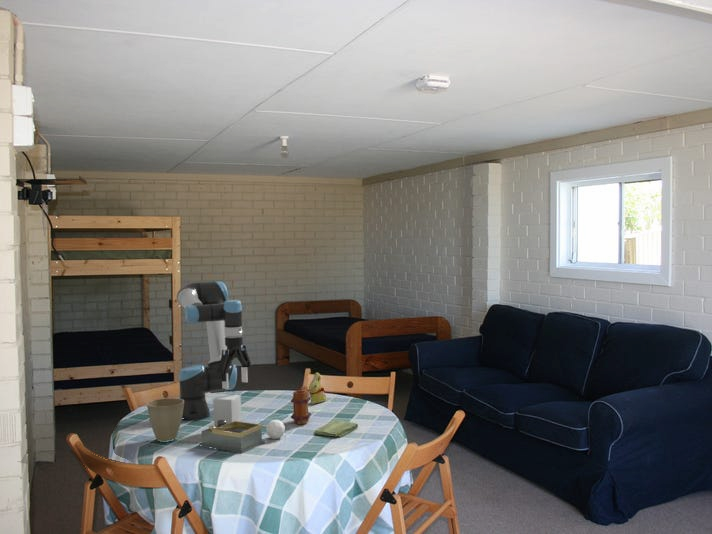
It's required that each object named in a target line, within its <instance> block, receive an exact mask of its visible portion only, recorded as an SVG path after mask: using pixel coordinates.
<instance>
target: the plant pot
mask: <svg viewBox="0 0 712 534" xmlns="http://www.w3.org/2000/svg"><path fill="white" fill-rule="evenodd" d="M146 407H147V408H146V409H147V412H148V418H149V421H150V425H151V428H152V431H153V434H154V437H155V440H156V441H157V440H162V441H167V440H172V439H175V438H176V439H177V436H178V433H179V430H180V428H181V427H180V426H181V424H182V423H181V422H182V420H183V419H182V414H183V407H184V400H182V399H180V398H177V397H176V398H174V397H167V398H158V399H153V400H150V401H148V402H146Z"/></svg>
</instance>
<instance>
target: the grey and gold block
mask: <svg viewBox="0 0 712 534" xmlns="http://www.w3.org/2000/svg"><path fill="white" fill-rule="evenodd" d="M262 429H263V424H260V423H255V422H246V421H242V422H240V421H233V422H230V423H228V424H226V420H219V421H217V425H216V426H214V425H209V426H208V428H206V429H204V430H202V431H201V442H200V443H199V444H198V446H199V445H202V446H206V447H212V448H216V449H215V450H218V449H222V450H221V451H224V450H227V451H226V452H230V451H232V452H231V453H236V452H237V453H236V454H244V453H246V452H248V451H251V450H252V449H255V448H257V447H259V446H262V445H264V444H265V443H266V442H265V441H266V440H264V439H262V438H263V437H262V436H263V435H262V433H263V432H262ZM206 447H205V448H206ZM212 448H211V449H212Z"/></svg>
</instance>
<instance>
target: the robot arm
mask: <svg viewBox="0 0 712 534" xmlns="http://www.w3.org/2000/svg"><path fill="white" fill-rule="evenodd" d="M176 301H177V303H178V304H179V306H181V308H184V317H185V322H187V323H188V324H189V323H190V324H191V323H192V324H196V323H206V331H207V341H208V350H209V351H208V352H209V361H208V363H207V367H206V366H205V365H204V364H201V363H200V364H193V365H188V366H185V367H183V368H181V369H180V370H179V373H178V375H179V376H178V381H179V382H178V383H179V399H182V400H184V407H183V414H182V418H184V419H194V420H199V418H201V419H205V418H208V417H210V416H211V415H210V414H211V410H210V407H209V405H208V402H207V398H206V393H211V392H213V393H214V392H220V391H224V392H225V391H228V390H229V391H230V390H233V389H234V388H235V387H236V384H237V377H238V368H237V365H236V364H234V363H233V361H234V359H236V358H237V360H238V362H239V363H240V365H241V369H240V371H241V375H240V376H241V383H248V382H249V381H248V380H249V378H248V375H249V368H250V367H251V364H252V362H251V360H250V357H249V353H248V351H247V346H246V344H243V343H244V342H243V341H244V340H243V313H242V312H243V307H242V302H241V300H239V299H238V300H237V299H230V300H229V292H228V288H227V285H226V284H225V283H224V282H223V281H215V280H214V281H204V282H203V281H200V282H199V281H198V282H196V281H195V282H190V283H187V284H185V285H183V286H182V287H181V288H180V289H179V290H178V291H177V294H176ZM204 417H205V418H204Z"/></svg>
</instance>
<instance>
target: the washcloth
mask: <svg viewBox="0 0 712 534" xmlns="http://www.w3.org/2000/svg"><path fill="white" fill-rule="evenodd" d="M358 428H359V424H358V423H356V422H351V421H344V420H340V419H333V420H332V421H331V422H327V423H326V424H325V425H322V426H320V427H318V428H316V430H315V431H313V434H314V435H317V436H325V437H334V438H342V437H344V436H347V435H349V434H350V433H352V432H354V431H355V430H357V429H358Z"/></svg>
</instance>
